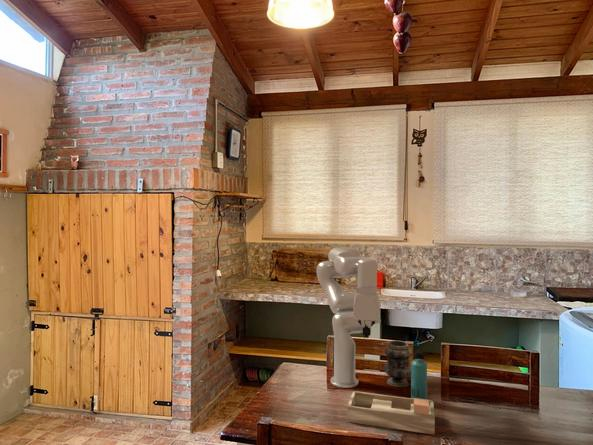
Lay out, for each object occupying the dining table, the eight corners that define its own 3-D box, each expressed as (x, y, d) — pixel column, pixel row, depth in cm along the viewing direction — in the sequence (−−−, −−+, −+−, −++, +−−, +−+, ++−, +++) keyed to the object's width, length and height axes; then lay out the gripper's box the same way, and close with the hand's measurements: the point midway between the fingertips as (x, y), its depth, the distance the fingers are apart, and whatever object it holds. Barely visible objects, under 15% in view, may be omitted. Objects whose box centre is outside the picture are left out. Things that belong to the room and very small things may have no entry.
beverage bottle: (427, 399, 166) (427, 350, 166) (427, 406, 160) (427, 355, 160) (411, 397, 168) (411, 348, 168) (409, 403, 162) (410, 353, 162)
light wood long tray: (353, 404, 161) (353, 390, 160) (433, 415, 152) (433, 400, 152) (347, 421, 147) (347, 405, 147) (434, 434, 139) (434, 417, 139)
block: (413, 412, 146) (413, 398, 146) (428, 414, 145) (428, 400, 145) (413, 418, 142) (413, 404, 142) (428, 420, 140) (428, 406, 140)
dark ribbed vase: (414, 388, 177) (415, 347, 177) (387, 388, 177) (387, 347, 177) (407, 377, 189) (408, 339, 189) (381, 377, 189) (382, 338, 189)
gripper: (346, 291, 158) (346, 338, 158) (385, 293, 154) (385, 341, 154) (349, 288, 166) (349, 332, 166) (387, 290, 161) (386, 336, 161)
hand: (366, 336), depth 160 cm, fingers closed
